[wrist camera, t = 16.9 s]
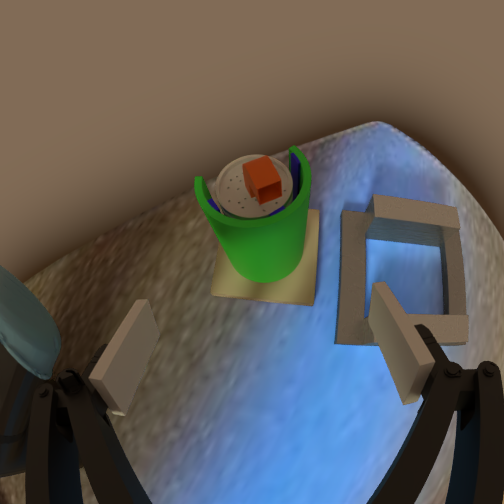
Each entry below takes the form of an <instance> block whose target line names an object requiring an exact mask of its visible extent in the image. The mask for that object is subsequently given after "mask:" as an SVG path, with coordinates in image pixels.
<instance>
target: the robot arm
mask: <svg viewBox="0 0 504 504" xmlns="http://www.w3.org/2000/svg"><path fill="white" fill-rule="evenodd" d="M368 323H369V325H370V327H371V329H372V331H373V334H374V336H375V338H376V340H377V343H378V345H379V347H380V350H381V352H382V354H383V356H384V359H385V361H386V364H387V366H388V368H389V371H390V373H391V376H392V378H393V380H394V383H395V385H396V388H397V391H398V393H399V396H400V398H401V401H402V403H403V405H406V404H410V403H413V402H417V401H418V399H419V397H420V395H422V397H423V399H424V401H423V403H422V405H421V406H420V408H419V410H418V412H417V413H418V414H417V416H416V418H415V420H414V423H413V425H412V427H411V429H410V431H409V433H408V435H407V437H406V439H405V441H404V443H403V445H402V447H401V449H400V450H399V452H398V454H397V456H396V458H395V459H394V461H393V463H392V465H391V466H390V468H389V470H388V471H387V473H386V475H385V476H384V478H383V479H382V481H381V483H380V484H379V486H378V487H377V489H376V490H375V492H374V493H373V495H372V496H371V498H370V499H369V500H368V502H367V503H366V504H414V503H415V501H416V499H417V498H418V496H419V494H420V492H421V490H422V488H423V486H424V484H425V482H426V480H427V478H428V476H429V474H430V472H431V470H432V468H433V465H434V463H435V461H436V459H437V456H438V454H439V451H440V449H441V447H442V444H443V441H444V439H445V436H446V434H447V431H448V428H449V425H450V422H451V419H452V416H453V413H454V411H457V426H456V439H455V449H454V457H453V464H452V471H451V477H450V483H449V488H448V493H447V497H446V502H445V504H502V501H503V494H504V396H503V387H502V380H501V374H500V370H499V367H498V366H497V365H496V364H495V363H493V362H490V361H483V362H482V363H480V364H479V366H478V368H477V369H467V370H465V369H462V367H461V366H460V365H459V364H457V363H455V362H450V361H449V360H448V358H447V356H446V355H445V353H444V351H443V350H442V348H441V347H440V345H439V343H437V340H436V339H435V337H434V336H433V334H432V333H431V331H430V330H429V329H428V328H427V327H426V326H424V325H423V324H418V325H413V324H412V322H411V320H410V319H409V317H408V316H407V314H406V313H405V311H404V309H403V308H402V306H401V305H400V303H399V302H398V300H397V299H396V297H395V296H394V294H393V293H392V291H391V290H390V288H389V287H388V285H387V284H386V283H385V281H384V282H376V283H373V285H372V294H371V302H370V310H369V317H368ZM159 336H160V333H159V331H158V328H157V325H156V322H155V319H154V317H153V314H152V311H151V308H150V305H149V302H148V299H144V300H136V302H135V303H134V305H133V306H132V308H131V309H130V311H129V312H128V314H127V315H126V317H125V319H124V320H123V322H122V323H121V325H120V326H119V328H118V330H117V331H116V333H115V334H114V336H113V338H112V339H111V341H110V342H109V344H104V345H102V346H101V347H100V348H99V349H98V350H97V352H96V353H95V355H94V357H93V358H92V360H91V363H89V364H88V366H87V368H86V369H85V371H84V373H83V374H82V376H80V375H79V373H78V372H77V370H76V369H74V368H68V369H65V370H63V371H61V372H60V373H59V374H58V376H57V378H56V381H53V380H48V379H50V378H51V376H52V372H53V370H52V368H53V366H54V364H55V361H56V359H57V357H58V355H59V352H60V349H61V336H60V333H59V330H58V328H57V325H56V323H55V322H54V320H53V318H52V317H51V315H50V314H49V312H48V311H47V310H46V308H45V307H44V306H43V305H42V303H41V302H40V301H39V300H38V299H37V298H36V297H35V296H34V294H33V293H32V292H31V291H30V290H29V289H28V288H27V287H26V286H25V285H24V284H23V283H21V282H20V281H19V280H18V279H17V278H16V277H15V276H14V275H12V274H11V273H10V272H9V271H7V270H6V269H5V268H3V267H2V266H0V478H1V477H6V476H11V475H16V474H20V473H24V472H26V476H25V491H26V504H83V498H82V490H81V482H80V472H79V469H80V468H82V467H84V468H85V471H86V474H87V476H88V479H89V482H90V484H91V487H92V489H93V492H94V494H95V496H96V499H97V501H98V503H99V504H152V502H151V501H150V499H149V497H148V496H147V494H146V492H145V491H144V489H143V487H142V485H141V484H140V482H139V480H138V478H137V476H136V475H135V473H134V471H133V469H132V467H131V465H130V463H129V461H128V459H127V457H126V455H125V453H124V451H123V449H122V447H121V445H120V442H119V440H118V438H117V436H116V433H115V431H114V429H113V426H112V424H111V422H110V419H109V417H108V415H107V414H106V410H107V408H109V409H110V410H111V412H112V413H113V414H116V415H122V416H126V413H127V411H128V408H129V406H130V404H131V401H132V399H133V396H134V394H135V391H136V389H137V387H138V384H139V382H140V379H141V377H142V375H143V372H144V370H145V368H146V365H147V363H148V361H149V359H150V356H151V354H152V352H153V349H154V347H155V345H156V343H157V341H158V338H159Z"/></svg>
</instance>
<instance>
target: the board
mask: <svg viewBox="0 0 504 504" xmlns="http://www.w3.org/2000/svg"><path fill="white" fill-rule="evenodd" d="M318 233H319V210H315V209H308V216H307V225H306V233H305V241H304V249H303V255H302V258H301V261H300V263H299V264H298V266H297V267H296V269H295V270H294V271H293V272H292V273H291V274H289V275H288V276H286V277H285V278H283V279H281V280H278V281H275V282H270V283H260V282H254V281H251V280H249V279H247V278H245V277H243V276H242V275H240V274H239V273H238V272H237V271H236V270H235V268H234V267H233V265H232V264H231V262H230V260H229V258H228V256H227V254H226V253H225V251H224V249H223V247H222V245H221V243H220V242H219V247H218V252H217V258H216V263H215V268H214V274H213V280H212V285H211V291H210V293H211V294H212V295H214V296H222V297H230V298H238V299H247V300H255V301H265V302H274V303H284V304H294V305H305V306H313V304H314V295H315V282H316V268H317V252H318Z"/></svg>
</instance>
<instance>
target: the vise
mask: <svg viewBox="0 0 504 504" xmlns="http://www.w3.org/2000/svg"><path fill="white" fill-rule="evenodd" d="M459 230H460V223H459V218H458V212H457V207H452V206H447V205H441V204H436V203H430V202H424V201H418V200H411V199H405V198H398V197H391V196H384V195H377V194H373V196H372V198H371V200H370V202H369V204H368V206H367V208H366V210H365V212H356V211H346V210H342V213H341V215H340V267H339V289H338V305H337V318H336V330H335V341H334V344H341V345H361V346H379V345H378V343H377V340H376V338H375V336H374V334H373V331H372V329H371V327H370V325H369V323H368V317H369V316H368V317H366V318H364V308H365V277H366V244H365V239H374V240H383V241H393V242H402V243H411V244H420V245H428V246H436V247H440V253H441V264H442V277H443V301H444V315H429V314H407V316H408V317H409V319H410V320H411V322H412V324H413V325H418V324H423V325H424V326H426V327H427V328H428V329H429V330H430V331H431V333H432V334H433V336H434V337H435V339H436V340H437V343H439V345H440V346H455V345H465V344H466V342H468V315H466V292H465V277H464V266H463V257H462V249H461V241H460V235H459Z"/></svg>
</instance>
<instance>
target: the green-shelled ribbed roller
mask: <svg viewBox="0 0 504 504" xmlns="http://www.w3.org/2000/svg"><path fill="white" fill-rule="evenodd" d="M194 188H195V194H196V197H197V200H198V202H199V204H200V206H201V208H202V210H203V212H204V213H205V215H206V217H207V219H208V221H209V223H210V225H211V227H212V228H213V230H214V232H215V234H216V236H217V238H218V240H219V242H220V243H221V245H222V247H223V249H224V251H225V253H226V254H227V256H228V258H229V260H230V262H231V264H232V265H233V267H234V268H235V270H236V271H237V272H238V273H239V274H240V275H242V276H243V277H245V278H247V279H249V280H251V281H254V282H260V283H270V282H275V281H278V280H281V279H283V278H285V277H286V276H288V275H289V274H291V273H292V272H293V271H294V270H295V269H296V267H297V266H298V264H299V263H300V261H301V258H302V255H303V249H304V241H305V233H306V225H307V216H308V207H309V198H310V188H311V169H310V166H309V163H308V161H307V159H306V157H305V156H304V154H303V153H302V152H301V151H300V150H299V149H298V148H297V147H296V146H292V147H290V148H289V170H288V168H287V167H286V166H285V165H284V164H283V163H282V162H280V161H279V160H277V159H275V158H273V157H270V156H267V155H248V156H244V157H241V158H238V159H236V160H234V161H232V162H231V163H229V164H228V165H227V166H226V167H225V168H224V169H223V170H222V171H221V173H220V175H219V176H218V178H217V181H216V186H215V192H216V196H217V199H218V201H219V204H220V206H221V209H222V211H223V213H224V215H223V214H221V212H220V210H219V208H218V207H217V205H216V204H215V202H214V201H213V199H212V197H211V195H210V193H209V190H208V188H207V186H206V184H205V181H204V179H203V177H202V176H196V177H195V182H194Z"/></svg>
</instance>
